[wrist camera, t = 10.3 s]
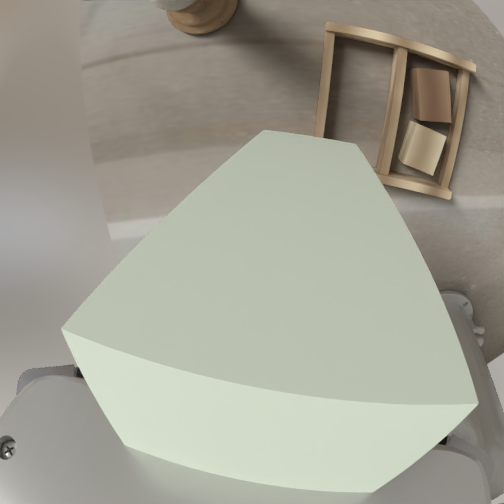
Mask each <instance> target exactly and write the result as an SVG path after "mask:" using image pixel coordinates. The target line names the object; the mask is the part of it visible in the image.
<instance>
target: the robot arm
mask: <svg viewBox="0 0 504 504" xmlns="http://www.w3.org/2000/svg"><path fill="white" fill-rule="evenodd" d="M439 293H440V295H441V297H442V300H443V302H444V304H445V307H446V309H447V312H448V314H449V317H450V319H451V322H452V324H453V327H454V329H455V332H456V334H457V337H458V340H459V342H460V345H461V348H462V351H463V354H464V357H465V360H466V363H467V366H468V369H469V372H470V375H471V378H472V381H473V385H474V388H475V391H476V395H477V399H478V402H479V404H478V405H477V406H476V407H475V408H474V409H473V410H472V411H471V412H470V413H469V414H468V415H467V416H466V417H465V418H464V419H463V420H462V421H461V422H460V423H459V424H458V425H457V426H456V427H455V428H454V429H453V430H452V431H451V432H450V433H449V434H448V435H447V436H446V437H444V438H443V439H442V440H441V441H440V442H439V443H438V444H436V445H435V446H434V447H433V448H432V449H431V450H429V451H428V452H427V453H426V454H425V455H423V456H422V457H421V458H420V459H418V460H417V461H416V462H415V463H413V464H412V465H411V466H410V467H408V468H407V469H406V470H404V471H403V472H402V473H400V474H399V475H397V476H396V477H395V478H393V479H392V480H390V481H389V482H388V483H386V484H385V485H383V486H382V487H380V488H379V489H377V490H376V491H374V492H332V491H317V490H305V489H296V488H287V487H280V486H273V485H267V484H261V483H255V482H249V481H244V480H239V479H234V478H230V477H225V476H221V475H217V474H213V473H209V472H205V471H201V470H197V469H194V468H190V467H187V466H183V465H180V464H177V463H174V462H170V461H167V460H164V459H161V458H158V457H156V456H153V455H150V454H147V453H144V452H142V451H139V450H136V449H134V448H131V447H129V446H126V445H124V443H123V442H122V440H121V439H120V437H119V436H118V434H117V433H116V431H115V430H114V428H113V427H112V425H111V424H110V422H109V420H108V419H107V417H106V415H105V414H104V412H103V410H102V409H101V407H100V405H99V404H98V402H97V400H96V398H95V397H94V395H93V393H92V391H91V390H90V388H89V386H88V384H87V382H86V380H85V378H84V377H83V375H82V373H81V371H80V369H79V367H75V366H74V364H73V365H64V366H56V367H45V368H33V369H29V370H26V371H25V372H23V373H22V375H21V376H20V378H19V381H18V386H17V396H16V397H15V398H14V400H13V401H12V402H11V403H10V405H9V406H8V407H7V409H6V410H5V412H4V413H3V415H2V416H1V418H0V504H491V500H493V499H495V498H497V497H498V496H500V495H501V494H503V493H504V412H503V409H502V407H501V404H500V401H499V398H498V395H497V392H496V389H495V386H494V383H493V380H492V378H491V375H490V372H489V369H488V366H487V364H486V361H485V358H484V356H483V353H482V351H481V348H480V346H482V345H483V341H484V339H483V336H477V335H475V333H476V334H483V333H484V331H485V327H484V326H475V324H474V322H473V320H472V318H473V307H472V304H471V302H470V300H469V299H468V298H467V296H465V295H464V294H463V293H460V292H458V291H452V290H450V291H441V292H439ZM500 504H504V503H500Z"/></svg>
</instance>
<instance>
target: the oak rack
mask: <svg viewBox="0 0 504 504" xmlns="http://www.w3.org/2000/svg"><path fill="white" fill-rule="evenodd" d="M335 36H337V37H343V38H349V39H354V40H359V41H364V42H368V43H373V44H377V45H381V46H385V47H389V48H393V49H394V51H393V61H392V70H391V79H390V87H389V95H388V102H387V109H386V115H385V121H384V128H383V133H382V139H381V145H380V150H379V155H378V161H377V166H376V168H374V167H372V169H373V170H374V172H375V173H376V175H377V177H378V178H379V180H380V181H381V183H382V184H386V185H391V186H395V187H399V188H404V189H408V190H412V191H417V192H421V193H425V194H429V195H433V196H437V197H441V198H444V199H448V200H450V199H451V195H452V192H451V191H450V190H449V189H448V186H449V182H450V178H451V175H452V171H453V167H454V163H455V158H456V154H457V149H458V145H459V140H460V135H461V130H462V125H463V119H464V113H465V107H466V100H467V93H468V85H469V77H470V72H476V64H474V63H471V62H469V61H467V60H464V59H462V58H460V57H457V56H454V55H452V54H449V53H447V52H444V51H441V50H439V49H436V48H433V47H430V46H427V45H424V44H421V43H418V42H414V41H411V40H408V39H404V38H401V37H397V36H394V35H390V34H386V33H382V32H378V31H373V30H369V29H364V28H360V27H355V26H349V25H344V24H338V23H332V22H326V27H325V38H324V49H323V60H322V69H321V79H320V88H319V97H318V106H317V114H316V122H315V130H314V137H319V138H323V135H324V128H325V120H326V112H327V104H328V96H329V87H330V78H331V69H332V59H333V49H334V38H335ZM407 53H411V54H414V55H417V56H421V57H424V58H427V59H430V60H433V61H436V62H439V63H441V64H444V65H447V66H450V67H452V68H455V69H457V70H458V74H457V83H456V91H455V98H454V104H453V111H452V117H451V123H450V128H449V133H448V138H447V143H446V148H445V152H444V157H443V161H442V166H441V170H440V174H439V178H438V182H433V181H429V180H425V179H422V178H418V177H414V176H410V175H405V174H401V173H397V172H393V171H389V169H390V164H391V159H392V154H393V149H394V144H395V138H396V133H397V127H398V121H399V115H400V109H401V102H402V95H403V88H404V80H405V71H406V62H407Z"/></svg>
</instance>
